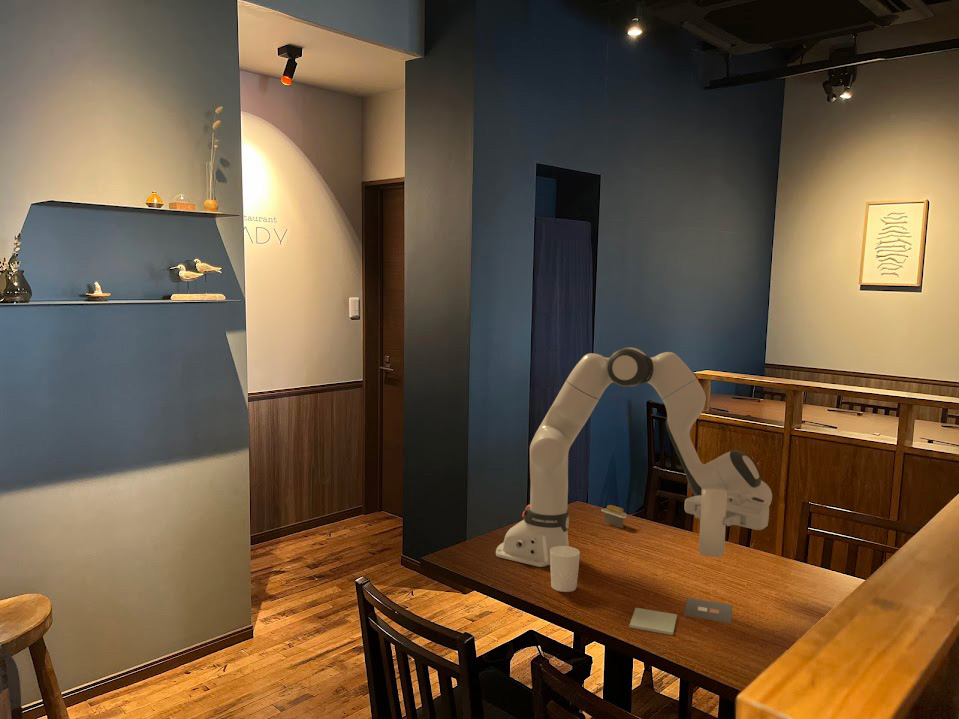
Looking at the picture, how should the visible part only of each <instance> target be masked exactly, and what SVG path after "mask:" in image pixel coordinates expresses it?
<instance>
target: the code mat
mask: <svg viewBox="0 0 959 719" xmlns="http://www.w3.org/2000/svg"><path fill="white" fill-rule="evenodd" d="M732 612H733V604H728V603H723V602H718V601H717V602H716V601H712V600H711V601H710V600H703V599H699V598H698V599H697V598H693V597H692V598H691V597H687V598H686V603H685V609H684V612H683V616H684V617H689V618H690V617H691V618H696V619H701V620H708V621H715V622H719V623H726V624H732V615H733V613H732Z"/></svg>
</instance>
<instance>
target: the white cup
mask: <svg viewBox="0 0 959 719" xmlns="http://www.w3.org/2000/svg"><path fill="white" fill-rule="evenodd" d="M580 553H581V551H580V550H579V549H577V548H576V547H574V546H570V545H569V546H556V547H553V548H551V549H550V565H549V568H550V583H551V584H550V585H551V589H553V590H554V591H557V592H560V593H561V592H562V593H569V592H570V593H571V592H574V591H576V589H577V588H578V578H579V571H580V570H579V568H580V567H579V566H580V555H581V554H580Z"/></svg>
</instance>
